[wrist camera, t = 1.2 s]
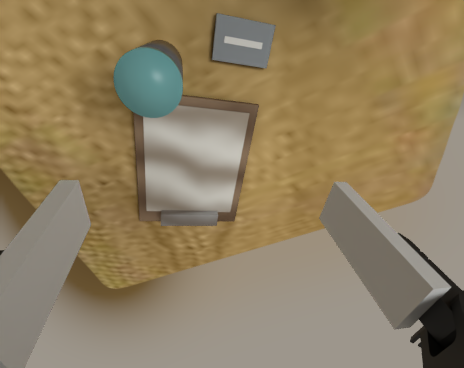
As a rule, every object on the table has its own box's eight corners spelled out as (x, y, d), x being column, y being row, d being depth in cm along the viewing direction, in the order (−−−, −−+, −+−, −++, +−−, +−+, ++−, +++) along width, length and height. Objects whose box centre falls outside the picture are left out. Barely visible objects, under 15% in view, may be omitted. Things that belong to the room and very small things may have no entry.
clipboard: (133, 88, 25) (130, 92, 24) (257, 104, 29) (261, 108, 27) (140, 218, 35) (138, 226, 33) (233, 218, 38) (235, 226, 36)
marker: (141, 36, 23) (110, 42, 13) (183, 43, 24) (184, 54, 14) (142, 80, 25) (116, 114, 15) (181, 85, 26) (181, 120, 16)
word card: (216, 13, 23) (217, 13, 23) (273, 25, 25) (275, 25, 24) (211, 59, 25) (212, 59, 25) (265, 67, 27) (266, 68, 26)
